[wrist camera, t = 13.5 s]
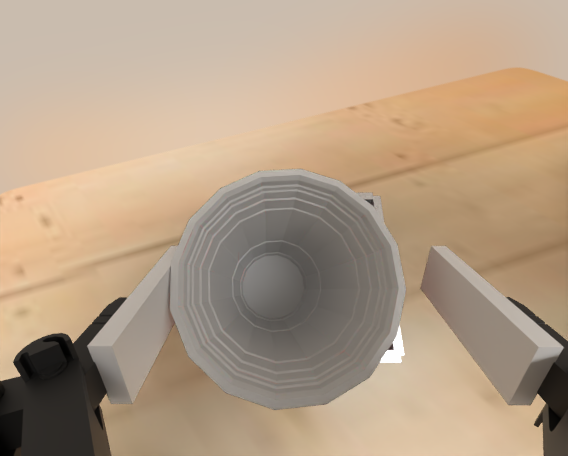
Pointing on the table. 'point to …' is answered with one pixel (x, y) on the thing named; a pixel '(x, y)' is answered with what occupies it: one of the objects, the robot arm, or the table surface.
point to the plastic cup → (287, 288)
